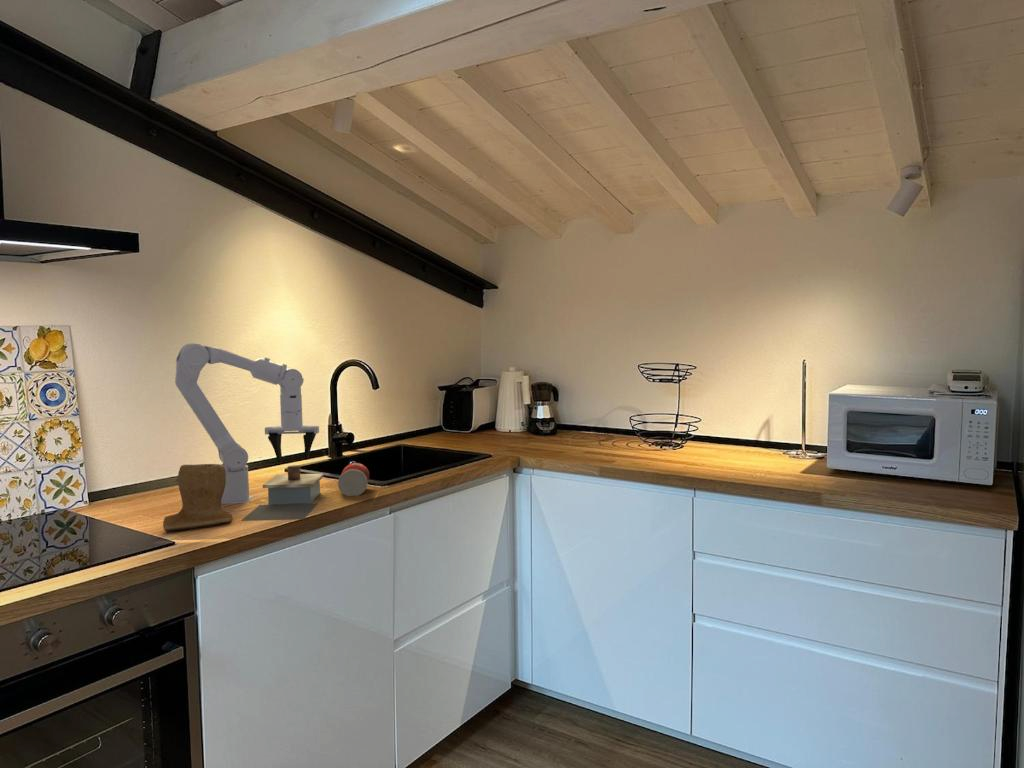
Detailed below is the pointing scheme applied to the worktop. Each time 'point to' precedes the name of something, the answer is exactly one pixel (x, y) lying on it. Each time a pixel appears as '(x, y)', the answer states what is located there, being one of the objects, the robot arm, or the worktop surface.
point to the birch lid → (293, 479)
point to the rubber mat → (280, 512)
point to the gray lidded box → (293, 494)
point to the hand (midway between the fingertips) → (293, 459)
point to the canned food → (353, 479)
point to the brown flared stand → (199, 497)
